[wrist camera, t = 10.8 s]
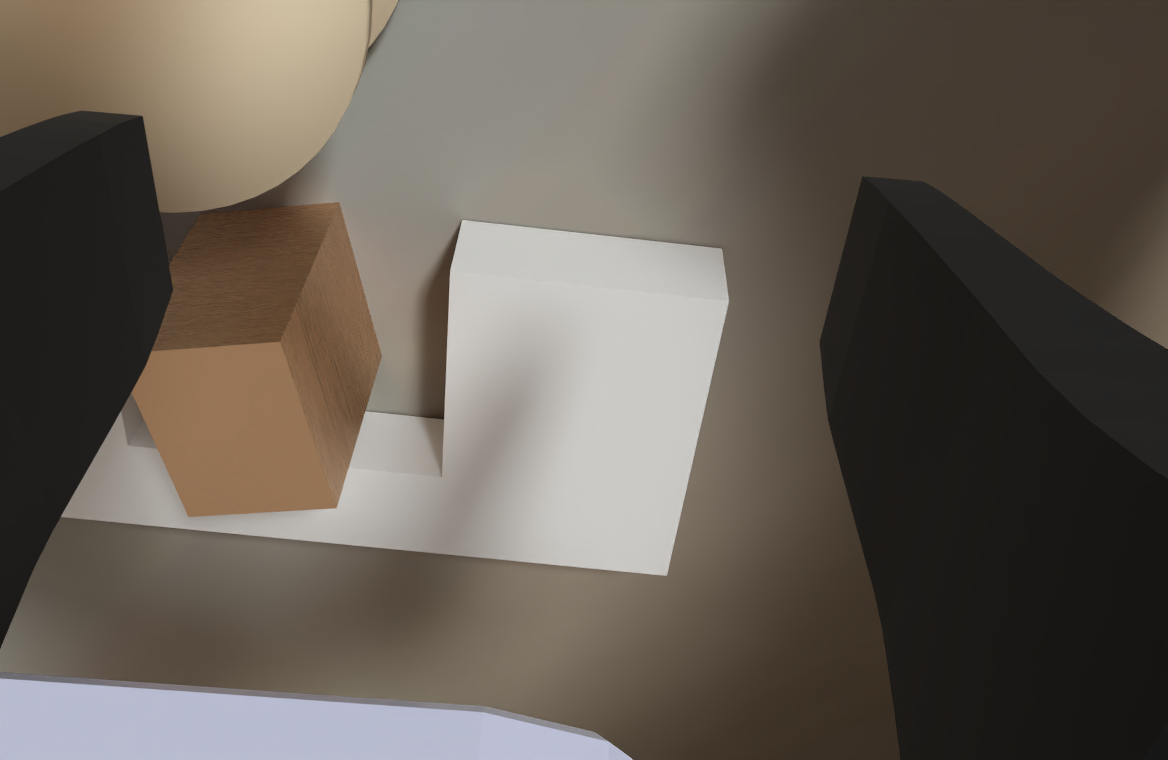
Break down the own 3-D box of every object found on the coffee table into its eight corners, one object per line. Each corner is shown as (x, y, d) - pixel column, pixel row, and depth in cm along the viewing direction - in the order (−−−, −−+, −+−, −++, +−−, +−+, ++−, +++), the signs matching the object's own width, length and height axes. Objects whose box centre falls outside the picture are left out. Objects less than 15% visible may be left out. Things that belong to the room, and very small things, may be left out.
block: (339, 201, 23) (279, 341, 19) (382, 355, 25) (336, 507, 22) (200, 213, 23) (114, 354, 19) (255, 364, 26) (188, 517, 22)
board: (721, 248, 23) (729, 301, 22) (664, 516, 28) (666, 575, 27) (-49, 163, 23) (-100, 211, 21) (29, 453, 28) (-8, 510, 26)
